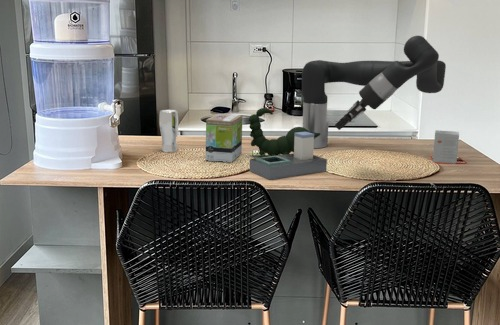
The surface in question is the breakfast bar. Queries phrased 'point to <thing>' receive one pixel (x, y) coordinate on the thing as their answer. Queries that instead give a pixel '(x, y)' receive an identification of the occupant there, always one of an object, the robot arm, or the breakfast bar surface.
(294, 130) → the toy figurine
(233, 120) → the tea box
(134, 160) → the breakfast bar surface
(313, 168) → the panel
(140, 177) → the breakfast bar surface
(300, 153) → the plug
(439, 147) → the small box
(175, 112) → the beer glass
